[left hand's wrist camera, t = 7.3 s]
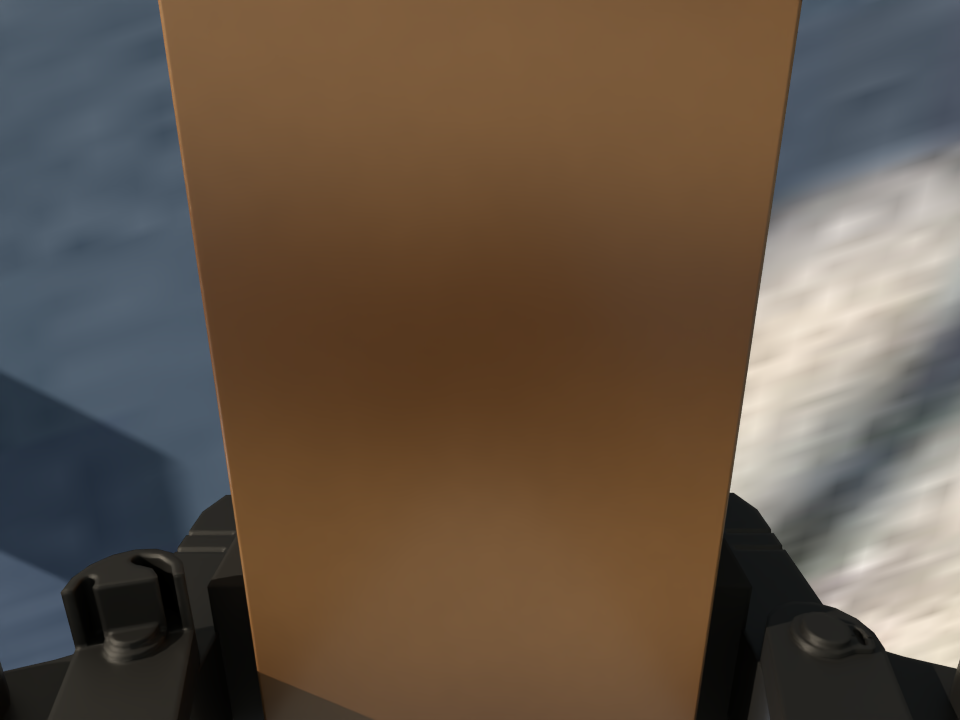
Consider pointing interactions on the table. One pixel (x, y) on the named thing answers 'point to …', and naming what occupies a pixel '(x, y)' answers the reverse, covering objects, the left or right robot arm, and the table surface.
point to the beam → (480, 336)
